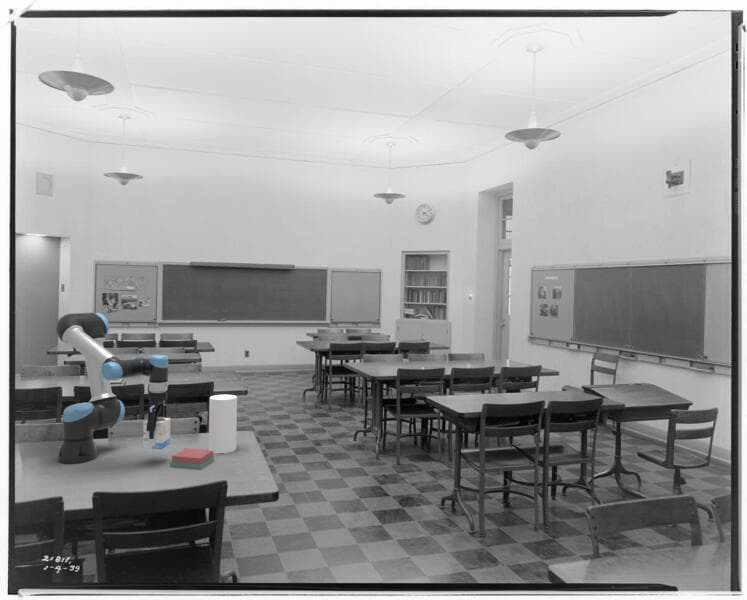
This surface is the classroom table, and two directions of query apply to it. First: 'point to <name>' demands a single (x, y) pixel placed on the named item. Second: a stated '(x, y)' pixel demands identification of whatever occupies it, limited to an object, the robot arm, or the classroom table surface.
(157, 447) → the ink box
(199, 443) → the classroom table surface
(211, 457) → the book stack
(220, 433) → the cylinder
